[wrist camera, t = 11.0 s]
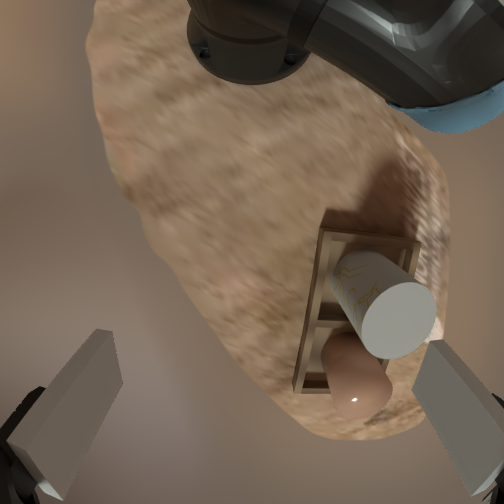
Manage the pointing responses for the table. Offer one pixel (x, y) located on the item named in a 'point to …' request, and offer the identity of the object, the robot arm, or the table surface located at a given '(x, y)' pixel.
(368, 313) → the grey cylinder
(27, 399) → the robot arm
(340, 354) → the tan rounded cylinder
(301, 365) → the caddy
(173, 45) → the table surface
